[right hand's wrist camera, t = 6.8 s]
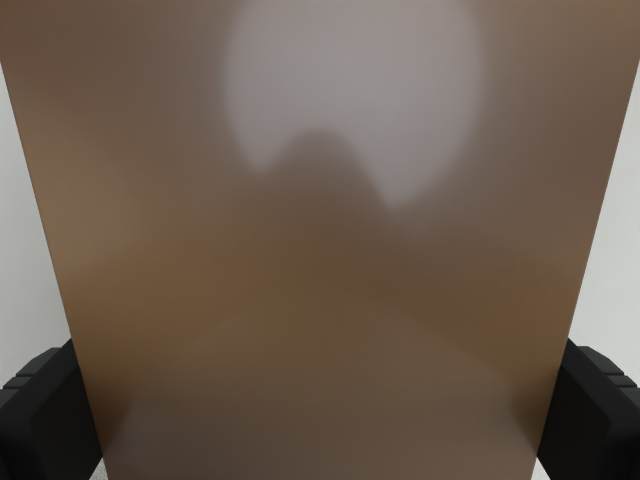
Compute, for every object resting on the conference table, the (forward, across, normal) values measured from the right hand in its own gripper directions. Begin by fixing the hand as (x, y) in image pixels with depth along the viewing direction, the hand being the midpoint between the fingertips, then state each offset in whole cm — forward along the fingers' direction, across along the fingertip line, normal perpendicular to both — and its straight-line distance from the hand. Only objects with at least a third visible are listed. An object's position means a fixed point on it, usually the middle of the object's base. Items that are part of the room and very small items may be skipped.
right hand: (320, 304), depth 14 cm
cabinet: (+3, 0, -7) cm, 8 cm away
